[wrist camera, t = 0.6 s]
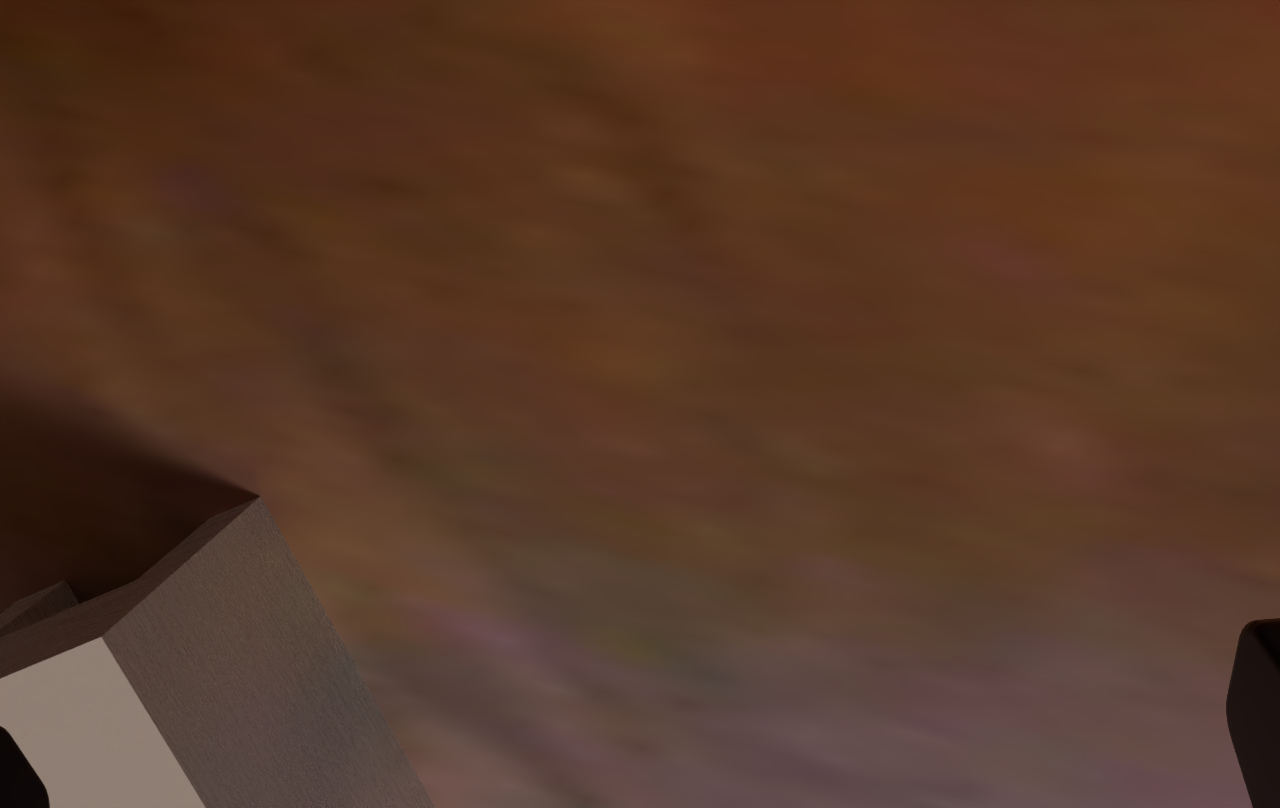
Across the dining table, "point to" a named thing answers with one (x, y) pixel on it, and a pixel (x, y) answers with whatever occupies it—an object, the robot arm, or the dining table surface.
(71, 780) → the saddle block
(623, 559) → the dining table surface
